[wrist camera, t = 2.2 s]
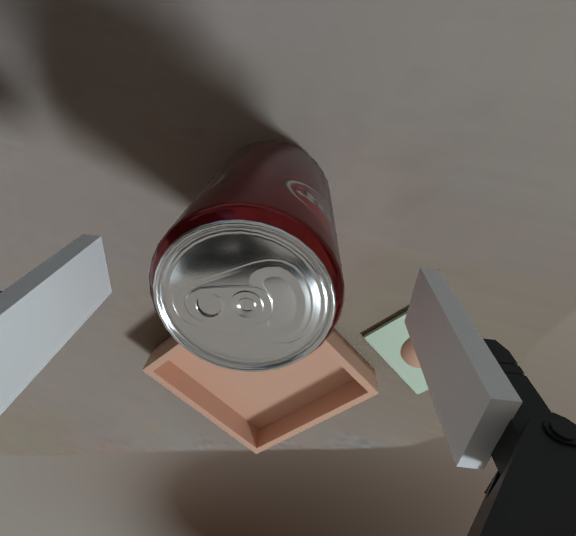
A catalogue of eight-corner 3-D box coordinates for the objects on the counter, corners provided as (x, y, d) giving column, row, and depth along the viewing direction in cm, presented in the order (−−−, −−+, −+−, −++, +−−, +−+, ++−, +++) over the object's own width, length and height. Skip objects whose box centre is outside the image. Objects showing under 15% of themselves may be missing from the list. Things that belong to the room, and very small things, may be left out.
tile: (363, 335, 28) (364, 338, 28) (431, 296, 26) (433, 299, 26) (416, 391, 31) (417, 395, 31) (482, 360, 29) (484, 364, 29)
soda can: (334, 141, 21) (358, 215, 11) (325, 250, 25) (336, 384, 14) (213, 136, 22) (123, 204, 11) (221, 245, 25) (158, 373, 15)
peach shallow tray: (154, 348, 30) (142, 370, 28) (269, 262, 26) (265, 280, 23) (259, 429, 35) (256, 453, 33) (374, 369, 30) (379, 393, 28)
